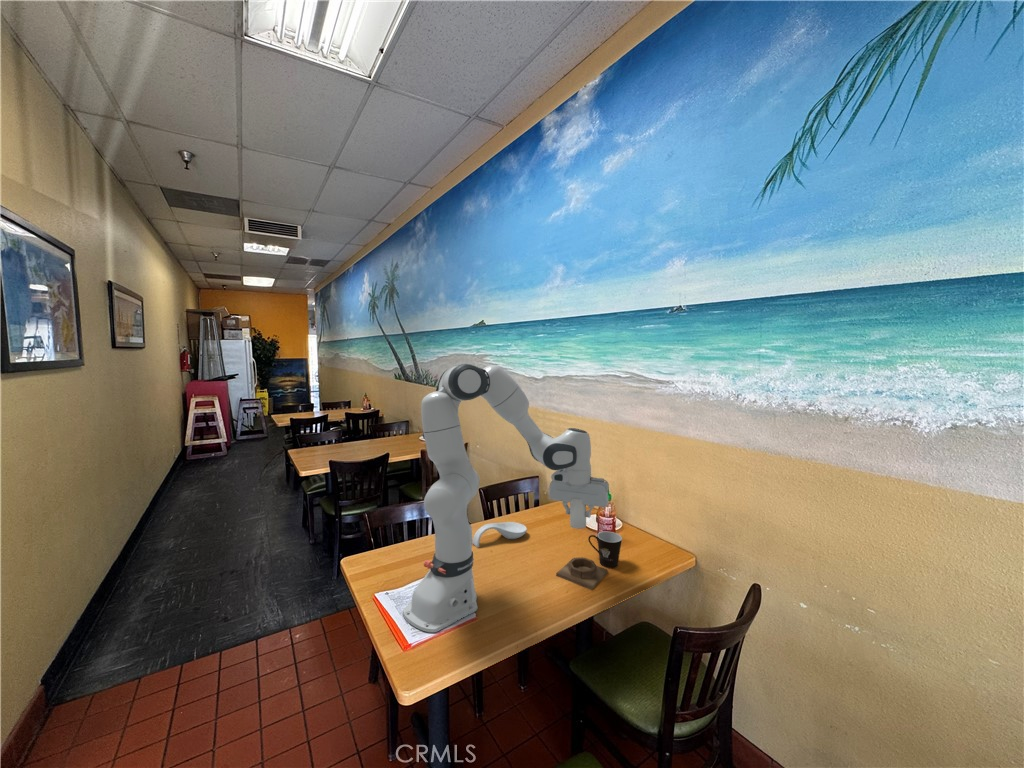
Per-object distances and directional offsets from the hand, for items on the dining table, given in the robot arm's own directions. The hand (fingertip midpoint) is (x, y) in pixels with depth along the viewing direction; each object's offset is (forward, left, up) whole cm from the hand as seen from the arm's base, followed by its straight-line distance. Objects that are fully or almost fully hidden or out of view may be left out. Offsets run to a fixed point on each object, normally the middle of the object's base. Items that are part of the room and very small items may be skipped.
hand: (578, 515), depth 132 cm
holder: (0, -2, -20) cm, 20 cm away
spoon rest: (+3, +36, -21) cm, 42 cm away
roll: (0, 0, -4) cm, 4 cm away
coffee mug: (+13, -5, -21) cm, 25 cm away
